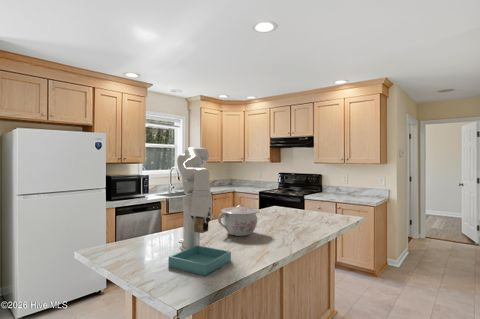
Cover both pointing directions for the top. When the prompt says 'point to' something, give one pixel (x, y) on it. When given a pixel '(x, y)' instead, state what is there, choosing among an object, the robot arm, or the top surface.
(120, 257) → the top surface
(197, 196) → the robot arm
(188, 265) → the bin
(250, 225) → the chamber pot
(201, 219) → the walnut block
